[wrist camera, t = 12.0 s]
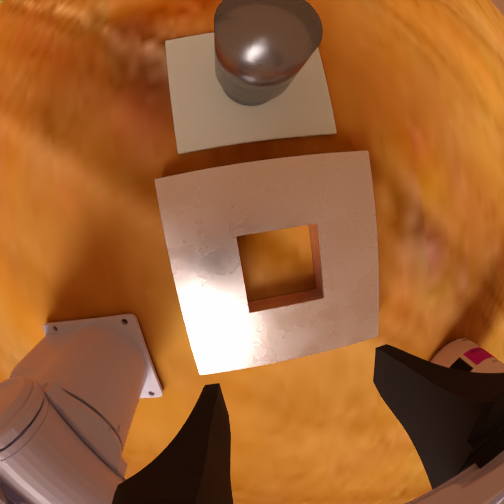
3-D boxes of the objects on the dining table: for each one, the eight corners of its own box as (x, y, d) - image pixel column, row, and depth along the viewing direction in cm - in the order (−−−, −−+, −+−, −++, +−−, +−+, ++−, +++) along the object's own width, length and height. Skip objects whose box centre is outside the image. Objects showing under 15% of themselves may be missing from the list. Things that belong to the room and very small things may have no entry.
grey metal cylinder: (220, 116, 18) (221, 69, 10) (211, 55, 17) (208, -11, 9) (290, 108, 18) (332, 64, 10) (278, 49, 17) (309, -13, 9)
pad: (179, 154, 18) (177, 153, 18) (166, 43, 16) (165, 41, 16) (334, 134, 19) (336, 133, 19) (310, 30, 17) (312, 27, 17)
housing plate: (201, 360, 22) (199, 374, 20) (161, 180, 19) (154, 179, 17) (367, 325, 23) (378, 336, 21) (355, 153, 20) (368, 150, 18)
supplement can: (469, 321, 24) (563, 384, 10) (469, 369, 26) (540, 432, 12) (415, 362, 24) (504, 453, 10) (420, 406, 26) (486, 487, 12)
